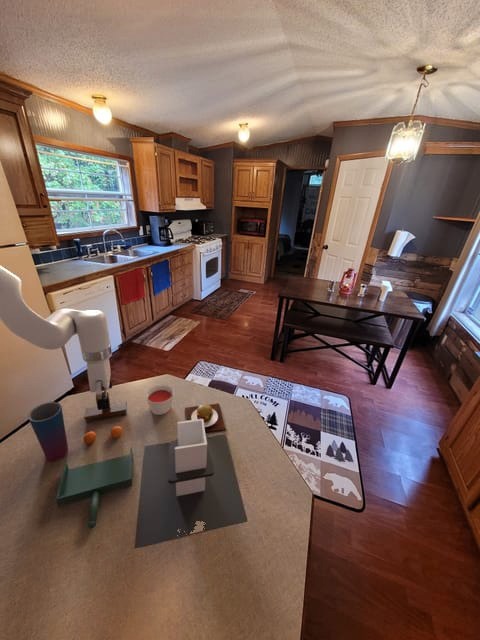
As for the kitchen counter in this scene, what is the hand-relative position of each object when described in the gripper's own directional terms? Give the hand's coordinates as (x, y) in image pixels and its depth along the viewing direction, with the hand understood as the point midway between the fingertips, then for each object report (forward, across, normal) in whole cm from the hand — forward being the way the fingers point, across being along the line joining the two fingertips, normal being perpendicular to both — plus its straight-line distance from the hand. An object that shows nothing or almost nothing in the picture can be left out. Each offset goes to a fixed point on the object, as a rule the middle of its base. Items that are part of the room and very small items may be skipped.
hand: (105, 397), depth 81 cm
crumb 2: (+6, +10, +3) cm, 12 cm away
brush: (+7, 0, 0) cm, 7 cm away
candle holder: (+8, +30, +21) cm, 38 cm away
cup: (+7, +12, -12) cm, 18 cm away
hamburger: (+8, +11, +30) cm, 33 cm away
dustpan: (+7, +27, 0) cm, 27 cm away
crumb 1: (+5, +10, -4) cm, 12 cm away
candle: (+7, +2, +16) cm, 18 cm away
